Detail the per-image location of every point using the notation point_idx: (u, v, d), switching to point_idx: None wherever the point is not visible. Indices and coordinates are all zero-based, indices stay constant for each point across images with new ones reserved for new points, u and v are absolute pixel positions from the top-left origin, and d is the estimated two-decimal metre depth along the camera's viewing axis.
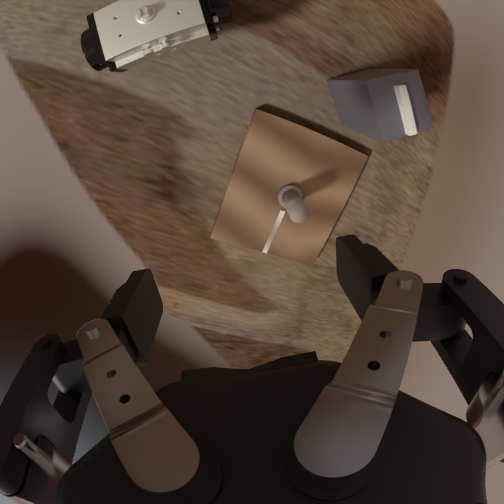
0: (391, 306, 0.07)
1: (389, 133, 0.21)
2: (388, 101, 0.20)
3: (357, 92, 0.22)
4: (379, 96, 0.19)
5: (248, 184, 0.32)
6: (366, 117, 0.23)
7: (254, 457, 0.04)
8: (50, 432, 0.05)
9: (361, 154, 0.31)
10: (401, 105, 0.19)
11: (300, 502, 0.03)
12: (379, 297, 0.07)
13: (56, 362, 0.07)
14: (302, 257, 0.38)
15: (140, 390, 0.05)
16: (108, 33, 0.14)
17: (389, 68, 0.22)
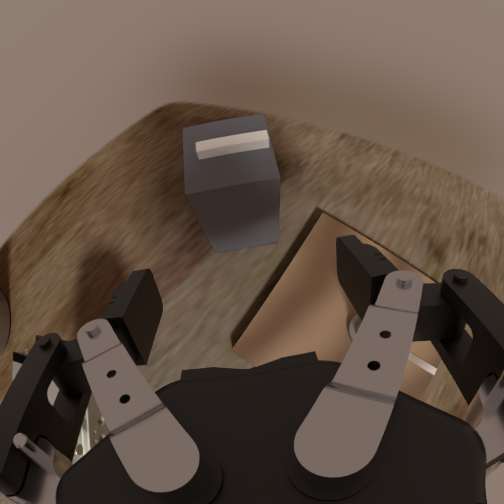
0: (391, 306, 0.07)
1: (266, 169, 0.17)
2: (218, 167, 0.17)
3: (213, 211, 0.19)
4: (210, 178, 0.17)
5: None
6: (248, 203, 0.19)
7: (254, 457, 0.04)
8: (50, 432, 0.05)
9: (319, 221, 0.25)
10: (225, 148, 0.17)
11: (300, 502, 0.03)
12: (379, 297, 0.07)
13: (56, 362, 0.07)
14: None
15: (140, 390, 0.05)
16: None
17: None
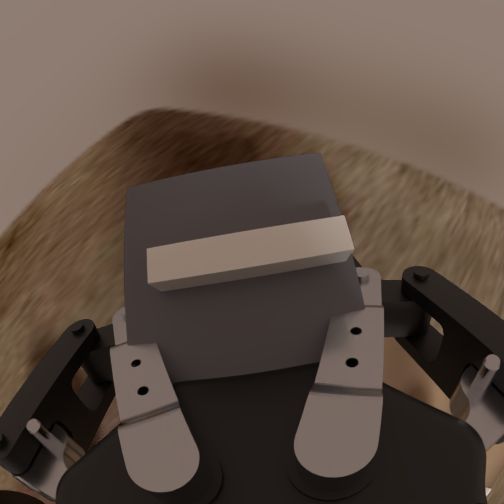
0: None
1: None
2: (211, 323, 0.06)
3: None
4: (191, 356, 0.06)
5: None
6: None
7: (254, 457, 0.04)
8: (69, 419, 0.06)
9: None
10: (228, 274, 0.06)
11: None
12: None
13: (91, 347, 0.07)
14: None
15: (160, 384, 0.05)
16: None
17: None
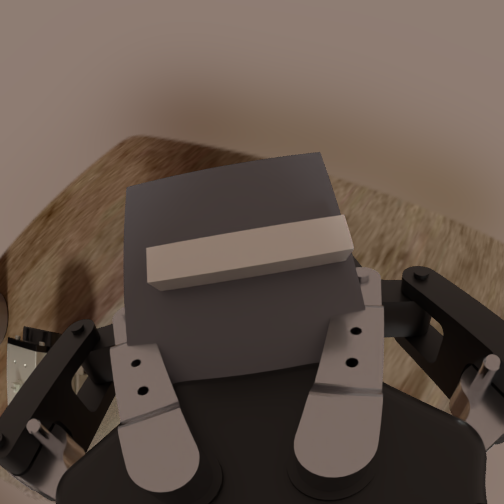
0: None
1: None
2: (211, 322, 0.06)
3: None
4: (191, 356, 0.06)
5: None
6: None
7: (254, 457, 0.04)
8: (68, 419, 0.06)
9: None
10: (228, 273, 0.06)
11: None
12: None
13: (91, 347, 0.07)
14: None
15: (160, 384, 0.05)
16: None
17: None
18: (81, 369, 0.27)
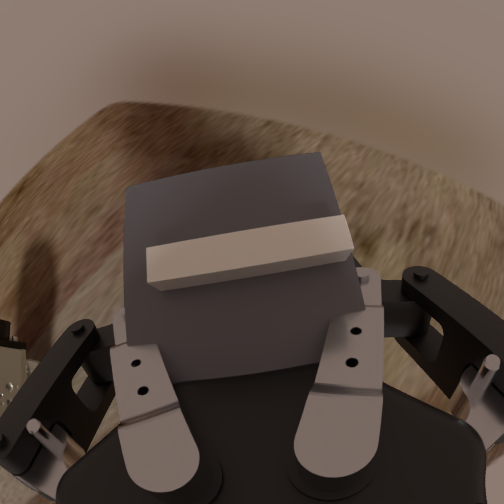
0: None
1: None
2: (211, 323, 0.06)
3: None
4: (191, 356, 0.06)
5: None
6: None
7: (254, 457, 0.04)
8: (68, 419, 0.06)
9: None
10: (228, 273, 0.06)
11: None
12: None
13: (91, 348, 0.07)
14: None
15: (160, 384, 0.05)
16: None
17: None
18: None
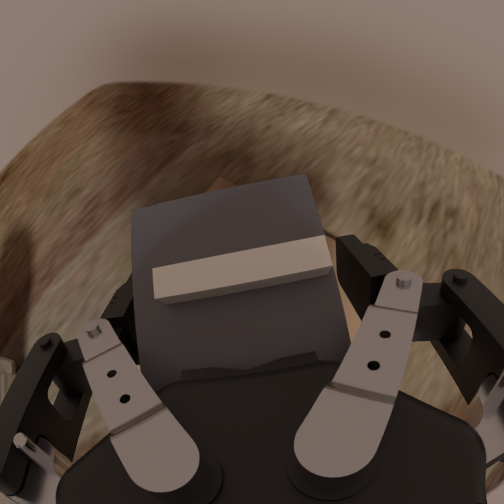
0: (391, 306, 0.07)
1: (323, 338, 0.07)
2: (210, 331, 0.07)
3: None
4: (194, 360, 0.07)
5: None
6: None
7: (254, 457, 0.04)
8: (50, 432, 0.05)
9: (213, 186, 0.21)
10: (223, 289, 0.07)
11: (300, 502, 0.03)
12: (378, 297, 0.07)
13: (56, 362, 0.07)
14: None
15: (140, 390, 0.05)
16: None
17: None
18: (9, 366, 0.16)
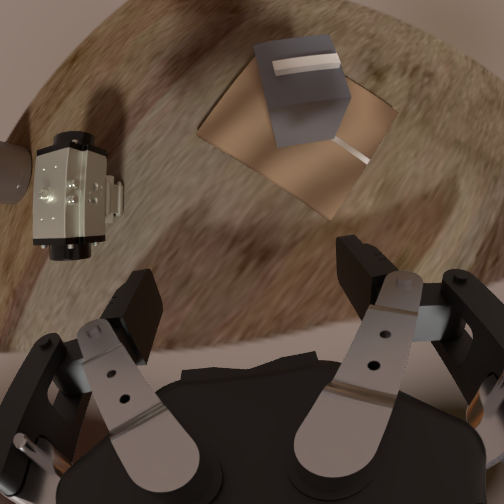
0: (391, 306, 0.07)
1: (338, 88, 0.16)
2: (295, 84, 0.17)
3: (287, 119, 0.20)
4: (289, 94, 0.17)
5: (274, 157, 0.27)
6: (319, 113, 0.19)
7: (254, 457, 0.04)
8: (50, 432, 0.05)
9: None
10: (300, 68, 0.16)
11: (300, 502, 0.03)
12: (379, 297, 0.07)
13: (56, 362, 0.07)
14: (385, 120, 0.25)
15: (140, 390, 0.05)
16: (49, 229, 0.21)
17: None
18: (112, 179, 0.29)
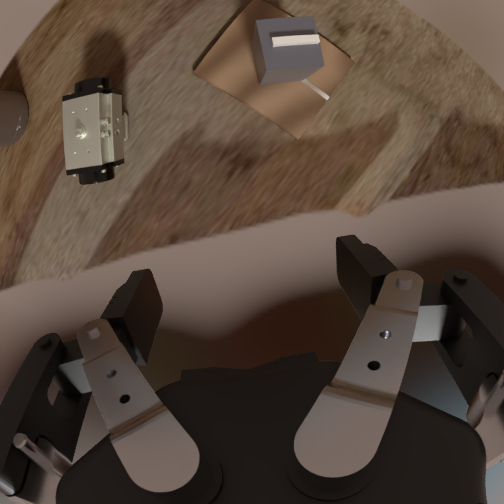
0: (391, 306, 0.07)
1: (316, 58, 0.23)
2: (286, 54, 0.22)
3: (276, 74, 0.25)
4: (282, 61, 0.23)
5: (257, 92, 0.33)
6: (299, 71, 0.25)
7: (254, 456, 0.04)
8: (50, 432, 0.05)
9: (252, 1, 0.27)
10: (291, 43, 0.21)
11: (300, 502, 0.03)
12: (379, 297, 0.07)
13: (56, 362, 0.07)
14: (344, 68, 0.31)
15: (140, 390, 0.05)
16: (84, 159, 0.25)
17: (253, 35, 0.25)
18: None
